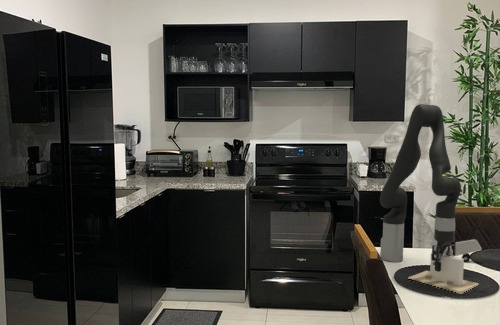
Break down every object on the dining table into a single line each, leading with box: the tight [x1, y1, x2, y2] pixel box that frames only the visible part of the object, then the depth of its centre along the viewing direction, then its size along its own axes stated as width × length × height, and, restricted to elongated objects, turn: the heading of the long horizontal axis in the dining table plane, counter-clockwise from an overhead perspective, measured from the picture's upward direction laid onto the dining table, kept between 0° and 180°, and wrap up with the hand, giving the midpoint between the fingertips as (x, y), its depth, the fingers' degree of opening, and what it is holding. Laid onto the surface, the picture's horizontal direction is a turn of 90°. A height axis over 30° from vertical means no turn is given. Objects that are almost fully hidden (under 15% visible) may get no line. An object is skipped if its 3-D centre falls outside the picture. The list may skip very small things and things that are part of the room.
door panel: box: [429, 253, 465, 286], centre depth 196 cm, size 12×4×10 cm, turn 41°
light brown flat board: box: [407, 270, 480, 295], centre depth 198 cm, size 22×14×2 cm, turn 41°
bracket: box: [452, 238, 483, 263], centre depth 229 cm, size 4×10×15 cm
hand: (443, 269), depth 197 cm, fingers open, 8 cm apart
